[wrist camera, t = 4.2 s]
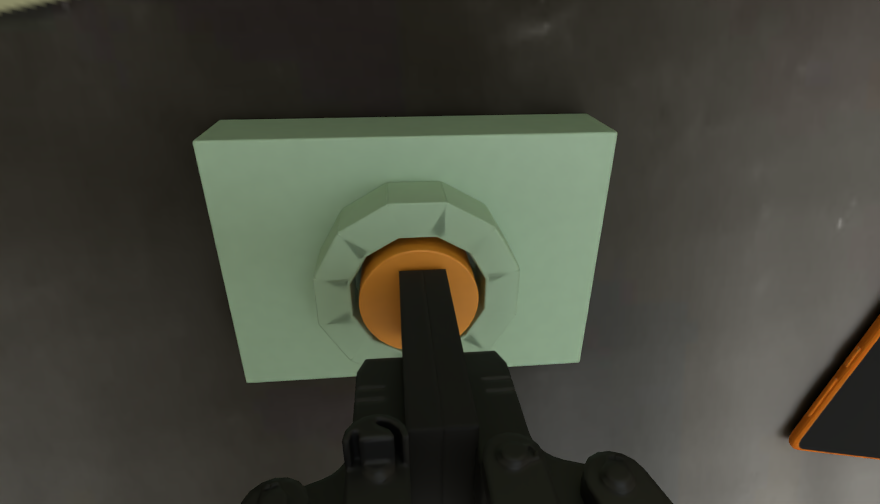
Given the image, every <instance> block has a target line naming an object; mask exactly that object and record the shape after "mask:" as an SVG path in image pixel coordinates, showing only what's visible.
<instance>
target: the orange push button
mask: <svg viewBox="0 0 880 504" xmlns="http://www.w3.org/2000/svg"><path fill="white" fill-rule="evenodd" d="M434 269H446V272H447V277H448V282H449V286H450V291H451V296H452V300H453V305H454V310H455V314H456V319H457V324H458V328H459V333H460V335H461V334H462V333H463V332H464V331H465V330H466V329H467V328H468V326H469V325H470V324H471V322H472V320H473V319H474V316H475V314H476V311H477V308H478V301H479V293H478V288H477V284H476V281H475V278H474V275H473V271H472V268H471V265H470V262H469V259H468V256H467V253H466V251H465V250H463V249H461V248H459V247H457V246H455V245H453V244H451V243H448V242H446V241H444V240H442V239H440V238H438V237H416V238H398V239H396V240H395V241H393V242H391V243H389V244H388V245H386V246H384V247H382V248H381V249H379V250H377V251H375V252H374V253H372V254H370V255H368V256H366V258H365V260H364V262H363V263H362V269H361V280H360V291H359V309H360V314H361V317H362V319H363V321H364V323H365V325H366V327H367V328H368V329H369V331H370V332H371V333H372V334H373V335H374V336H375V337H377V338H378V339H379V340H381V341H382V342H384V343H385V344H388V345H390V346H392V347H395V348H398V349H402V339H401V314H400V288H399V271H411V270H434Z"/></svg>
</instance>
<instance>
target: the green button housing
mask: <svg viewBox="0 0 880 504" xmlns="http://www.w3.org/2000/svg"><path fill="white" fill-rule="evenodd" d="M616 139H617V132H616V131H614V130H613V129H611V128H609V127H608V126H606V125H604V124H603V123H601V122H599V121H598V120H596V119H595V118H593V117H591V116H590V115H588V114H533V115H476V116H419V117H361V118H304V119H247V120H219V121H218V122H217V123H215V124H214V125H213V126H212V127H210V128H209V129H208V130H206V131H205V132H204V133H203V134H201V135H200V136H199V137H197V138H196V139H195V140H193V147H194V151H195V155H196V160H197V164H198V169H199V173H200V178H201V182H202V187H203V191H204V195H205V200H206V204H207V209H208V213H209V218H210V222H211V227H212V231H213V235H214V240H215V244H216V249H217V253H218V258H219V262H220V267H221V271H222V276H223V280H224V284H225V289H226V293H227V298H228V302H229V307H230V311H231V316H232V320H233V324H234V329H235V333H236V338H237V342H238V347H239V351H240V356H241V360H242V364H243V369H244V373H245V378H246V382H247V383H256V382H272V381H288V380H304V379H320V378H336V377H352V376H357V372H358V370H359V368H360V367H361V365H362V364H363V362H364V361H365V359H378V358H395V357H402V349H398V348H395V347H392V346H390V345H388V344H385V343H384V342H382V341H381V340H379V339H378V338H377V337H375V336H374V335H373V334H372V333H371V332H370V331H369V329H368V328H367V327H366V325H365V323H364V321H363V319H362V317H361V314H360V309H359V291H360V280H361V269H362V263H363V262H364V260H365V258H366V256H368V255H370V254H372V253H374V252H375V251H377V250H379V249H381V248H382V247H384V246H386V245H388V244H389V243H391V242H393V241H395V240H396V239H398V238H416V237H438V238H440V239H442V240H444V241H446V242H448V243H451V244H453V245H455V246H457V247H459V248H461V249H463V250H465V251H466V253H467V256H468V259H469V262H470V265H471V268H472V271H473V275H474V278H475V281H476V284H477V288H478V293H479V301H478V308H477V311H476V314H475V316H474V319H473V320H472V322H471V324H470V325H469V326H468V328H467V329H466V330H465V331H464V332H463V333H462V334H461V335H460V338H461V342H462V347H463V352H478V351H496V352H497V353H498V354H499V355H500V356H501V357H502V359H503V360H504V361H505V362H506V363H507V366H508V367H513V366H529V365H545V364H561V363H577V362H579V361H580V355H581V349H582V343H583V337H584V331H585V325H586V319H587V313H588V307H589V301H590V295H591V289H592V283H593V277H594V271H595V265H596V259H597V253H598V247H599V241H600V235H601V229H602V223H603V217H604V211H605V205H606V199H607V193H608V187H609V181H610V175H611V169H612V163H613V157H614V151H615V145H616Z"/></svg>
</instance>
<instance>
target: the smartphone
mask: <svg viewBox="0 0 880 504" xmlns="http://www.w3.org/2000/svg"><path fill="white" fill-rule="evenodd" d="M789 443H790V445H791V446H792V447H793V448H794V449H797V450H804V451H812V452H821V453H829V454H837V455H846V456H854V457H862V458H871V459H879V460H880V314H879V316H878V317H877V318H876V320H875V321H874V322H873V324H872V325H871V327H870V328H869V329H868V331H867V332H866V333H865V335H864V336H863V337H862V339H861V340H860V341H859V343H858V344H857V345H856V347H855V348H854V349H853V351H852V352H851V353H850V355H849V356H848V357H847V359H846V360H845V361H844V363H843V364H842V365H841V367H840V368H839V369H838V371H837V372H836V373H835V375H834V376H833V378H832V379H831V380H830V382H829V383H828V384H827V386H826V387H825V388H824V390H823V391H822V392H821V394H820V395H819V396H818V398H817V399H816V400H815V402H814V403H813V404H812V406H811V407H810V408H809V410H808V411H807V412H806V414H805V415H804V416H803V418H802V419H801V420H800V422H799V423H798V424H797V426H796V427H795V428H794V430H793V431H792V433H791V434H790V436H789Z"/></svg>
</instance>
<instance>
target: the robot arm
mask: <svg viewBox="0 0 880 504" xmlns="http://www.w3.org/2000/svg"><path fill="white" fill-rule="evenodd" d="M399 288H400V314H401V339H402V357H395V358H378V359H365V361H364V362H363V364H362V365H361V367H360V368H359V370H358V372H357V376H356V390H355V403H354V415H353V423H352V424H351V426H350V427H349V428H348V429H347V430H346V431H345V434H344V437H343V440H342V444H343V453H344V461H345V463H344V464H343V465H342V466H341V468H340V469H339V470H337V471H336V472H335V473H333V474H332V475H330V476H328V477H326V478H324V479H322V480H320V481H317V482H314V483H312V484H309V485H306V486H303V485H302V484H301V483H300V482H299V481H297V480H294V479H291V478H274V479H271V480H268V481H266V482H263V483H261V484H260V485H258V486H257V487H255V488H254V489H252V490H251V491H250V492H249V493H248V495H247V496H246V497H245V498H244V500H243V501H242V502H241V504H475V503H476V504H673V503H672V502H671V501H670V499H669V498H668V497H667V496H666V495H665V493H664V492H663V491H662V490H661V489H660V487H659V486H658V485H657V484H656V483H655V481H654V480H653V479H652V478H651V477H650V475H649V474H648V473H647V472H646V471H645V469H644V468H643V467H641V466H640V465H639V464H638V463H637V462H636V461H635V460H633V459H631V458H629V457H627V456H625V455H623V454H621V453H616V452H611V451H606V452H597V453H596V454H594V455H592V456H590V457H589V458H588V460H587V461H586V463H585V464H582V463H577V462H572V461H567V460H563V459H560V458H556V457H553V456H551V455H550V454H548V453H546V452H544V451H543V450H542V449H541V448H540V447H539V445H538V444H537V443H536V442H534V441H533V440H532V438H531V436H530V434H529V431H528V428H527V425H526V422H525V419H524V416H523V413H522V410H521V407H520V403H519V400H518V397H517V394H516V391H515V388H514V385H513V382H512V379H511V376H510V372H509V369H508V366H507V363H506V362H505V361H504V360H503V359H502V357H501V356H500V355H499V354H498V353H497V352H496V351H478V352H463V347H462V342H461V338H460V333H459V328H458V324H457V319H456V314H455V310H454V305H453V300H452V296H451V291H450V286H449V282H448V277H447V272H446V269H434V270H411V271H399Z"/></svg>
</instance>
